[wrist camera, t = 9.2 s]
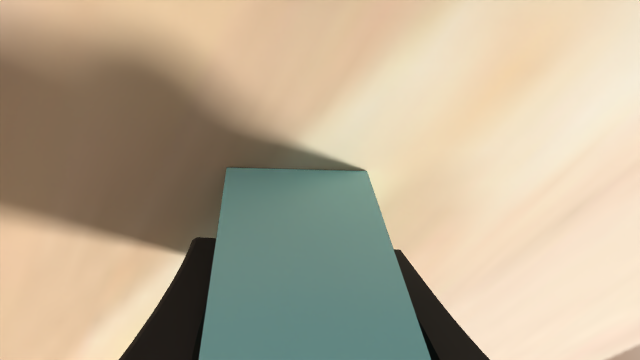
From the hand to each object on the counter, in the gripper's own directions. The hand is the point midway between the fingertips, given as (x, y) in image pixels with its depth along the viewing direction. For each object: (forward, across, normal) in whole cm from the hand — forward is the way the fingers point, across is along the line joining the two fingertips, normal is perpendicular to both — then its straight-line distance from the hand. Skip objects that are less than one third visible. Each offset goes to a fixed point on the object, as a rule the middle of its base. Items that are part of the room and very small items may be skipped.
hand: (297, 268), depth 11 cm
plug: (+2, 0, 0) cm, 2 cm away
